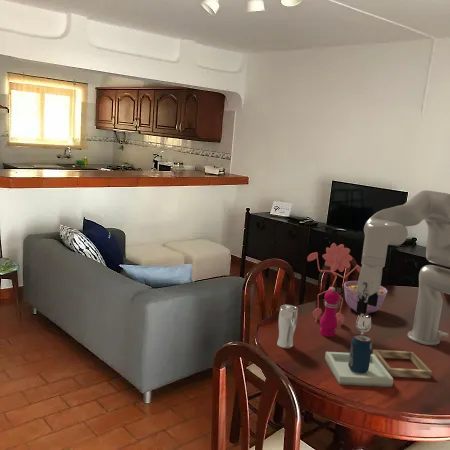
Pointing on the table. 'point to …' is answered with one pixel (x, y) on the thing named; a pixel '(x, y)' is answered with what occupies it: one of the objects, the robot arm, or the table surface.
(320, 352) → the table surface
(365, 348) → the soda can
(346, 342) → the table surface
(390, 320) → the table surface
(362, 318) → the wineglass
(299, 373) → the table surface
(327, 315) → the pepper mill
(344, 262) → the figurine
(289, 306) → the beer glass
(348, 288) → the bowl of food
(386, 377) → the sage dish
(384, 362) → the oak frame
